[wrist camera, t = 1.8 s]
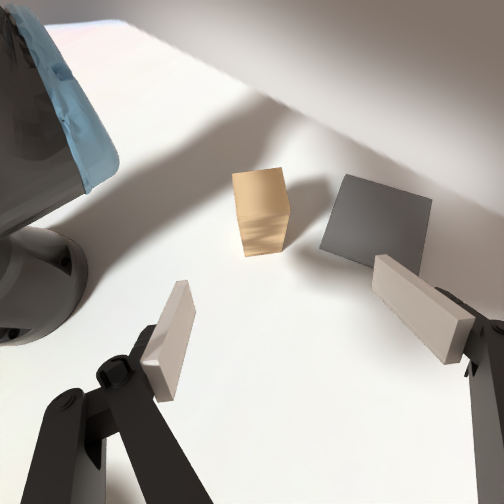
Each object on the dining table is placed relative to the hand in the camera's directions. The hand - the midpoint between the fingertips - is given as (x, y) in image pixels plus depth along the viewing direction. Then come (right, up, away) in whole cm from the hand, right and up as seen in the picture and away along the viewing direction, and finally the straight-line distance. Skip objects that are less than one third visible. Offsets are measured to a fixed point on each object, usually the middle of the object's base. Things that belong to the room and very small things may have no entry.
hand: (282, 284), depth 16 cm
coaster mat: (+15, +6, +16) cm, 23 cm away
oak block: (-1, +4, +16) cm, 17 cm away
